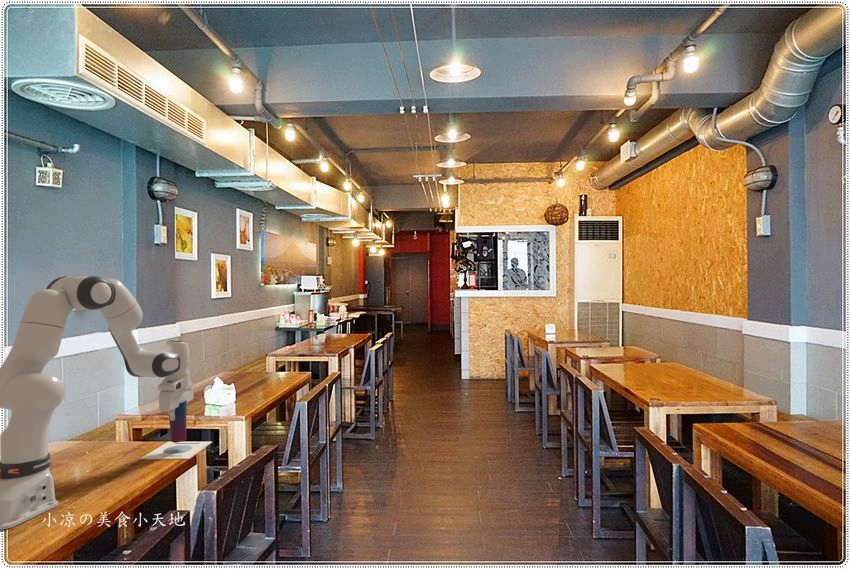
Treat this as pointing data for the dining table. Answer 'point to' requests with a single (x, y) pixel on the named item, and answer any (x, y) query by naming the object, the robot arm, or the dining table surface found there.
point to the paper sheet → (176, 450)
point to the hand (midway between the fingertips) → (177, 417)
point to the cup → (179, 423)
